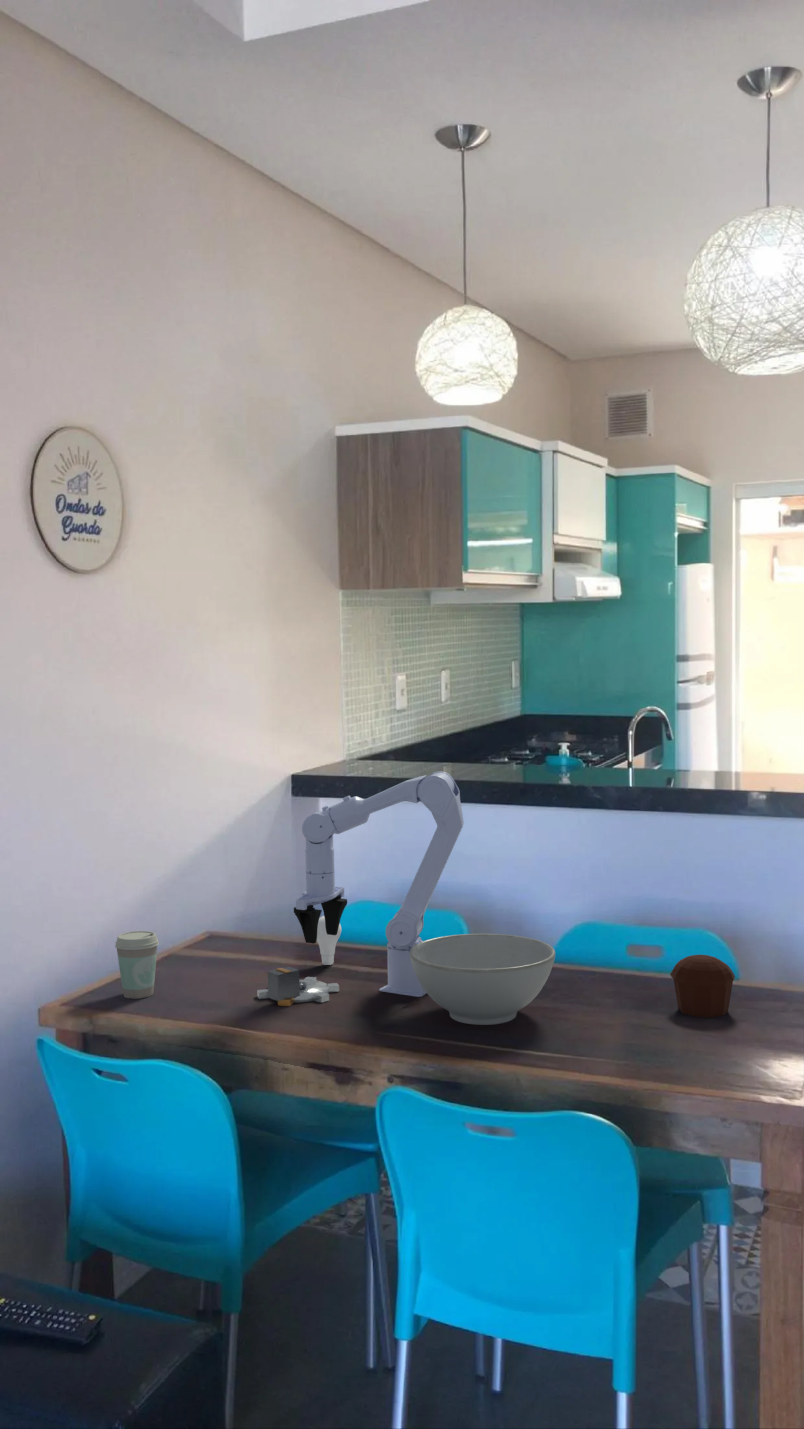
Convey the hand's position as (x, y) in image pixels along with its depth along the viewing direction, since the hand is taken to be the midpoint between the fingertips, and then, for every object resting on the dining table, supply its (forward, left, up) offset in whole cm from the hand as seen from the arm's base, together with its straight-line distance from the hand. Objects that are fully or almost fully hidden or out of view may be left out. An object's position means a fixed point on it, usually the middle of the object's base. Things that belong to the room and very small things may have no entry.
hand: (321, 938), depth 239 cm
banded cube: (0, +13, -8) cm, 16 cm away
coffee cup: (+30, +21, -10) cm, 38 cm away
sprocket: (+1, +7, -10) cm, 12 cm away
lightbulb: (+8, -14, -10) cm, 19 cm away
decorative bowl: (-37, +2, -10) cm, 38 cm away
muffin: (-72, -19, -10) cm, 75 cm away
